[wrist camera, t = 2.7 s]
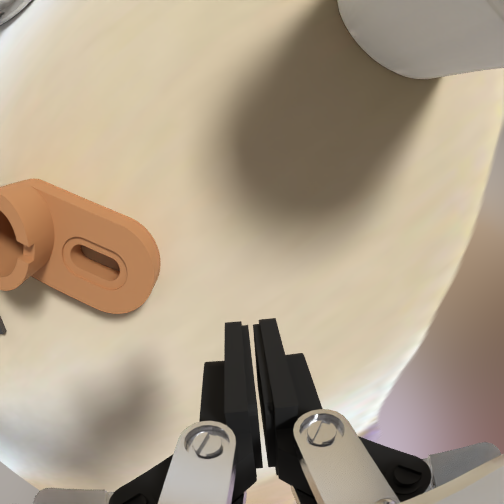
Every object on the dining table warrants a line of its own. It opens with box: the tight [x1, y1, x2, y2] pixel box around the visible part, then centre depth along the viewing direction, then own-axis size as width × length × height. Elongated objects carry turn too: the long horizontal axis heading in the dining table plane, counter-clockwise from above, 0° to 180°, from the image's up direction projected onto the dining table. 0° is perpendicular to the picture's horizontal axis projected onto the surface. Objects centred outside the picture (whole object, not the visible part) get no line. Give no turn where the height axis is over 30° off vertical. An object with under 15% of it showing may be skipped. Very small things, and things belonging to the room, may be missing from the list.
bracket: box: [0, 179, 160, 314], centre depth 21 cm, size 18×8×7 cm, turn 65°
